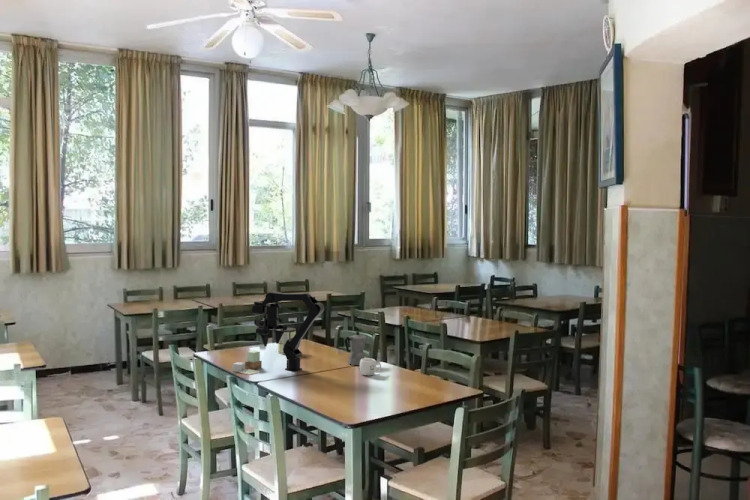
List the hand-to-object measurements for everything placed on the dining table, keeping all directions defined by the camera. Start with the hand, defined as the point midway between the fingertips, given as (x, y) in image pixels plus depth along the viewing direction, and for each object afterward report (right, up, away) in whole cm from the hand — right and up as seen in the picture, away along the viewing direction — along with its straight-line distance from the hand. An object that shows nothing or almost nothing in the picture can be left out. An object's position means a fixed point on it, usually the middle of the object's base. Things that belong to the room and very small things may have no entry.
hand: (271, 344), depth 338 cm
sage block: (-9, -8, -3) cm, 12 cm away
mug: (+52, -14, -8) cm, 55 cm away
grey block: (-15, -12, -9) cm, 21 cm away
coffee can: (+3, -10, +39) cm, 40 cm away
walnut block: (-9, -12, -2) cm, 15 cm away
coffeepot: (+44, -13, +14) cm, 48 cm away
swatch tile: (-9, -12, -11) cm, 19 cm away
